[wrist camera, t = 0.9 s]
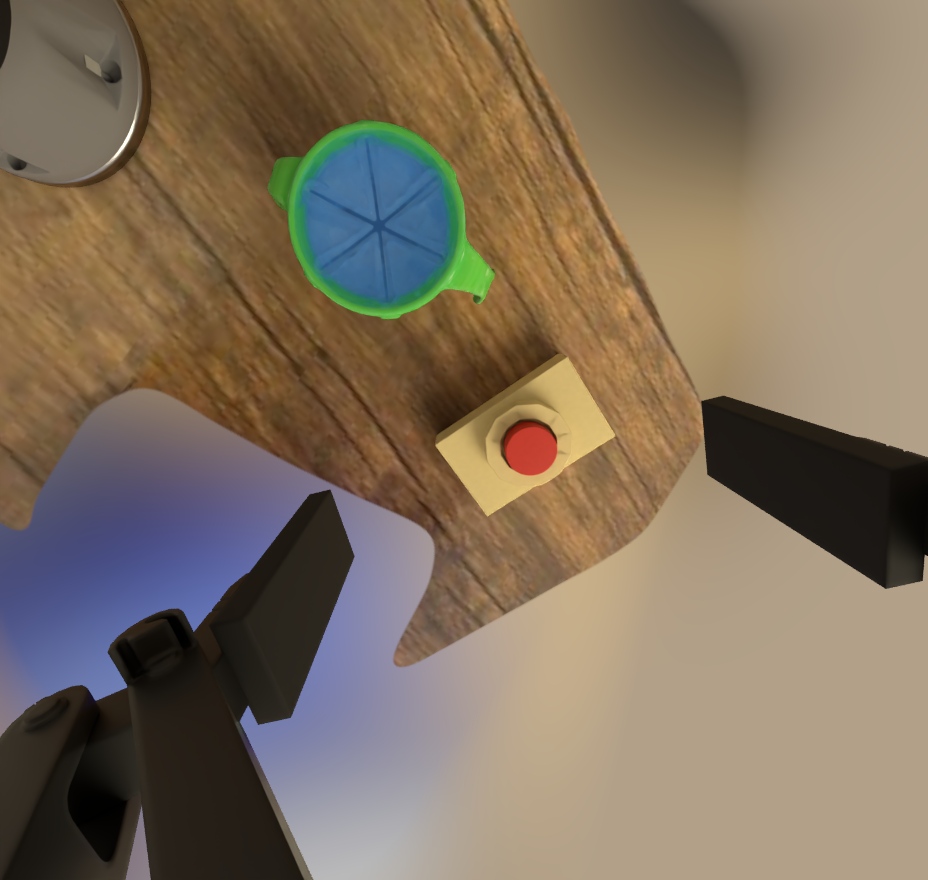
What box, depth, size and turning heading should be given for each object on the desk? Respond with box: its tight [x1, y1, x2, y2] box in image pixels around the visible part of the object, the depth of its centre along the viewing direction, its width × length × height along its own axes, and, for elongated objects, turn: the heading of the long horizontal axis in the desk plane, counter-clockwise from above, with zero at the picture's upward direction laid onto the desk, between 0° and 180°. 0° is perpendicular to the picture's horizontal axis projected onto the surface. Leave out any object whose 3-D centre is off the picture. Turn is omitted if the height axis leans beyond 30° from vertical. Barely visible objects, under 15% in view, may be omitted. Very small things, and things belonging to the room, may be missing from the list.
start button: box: [504, 421, 557, 476], centre depth 34 cm, size 4×4×2 cm
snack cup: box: [267, 120, 495, 319], centre depth 30 cm, size 16×10×10 cm
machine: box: [435, 354, 615, 516], centre depth 37 cm, size 13×8×5 cm, turn 124°
